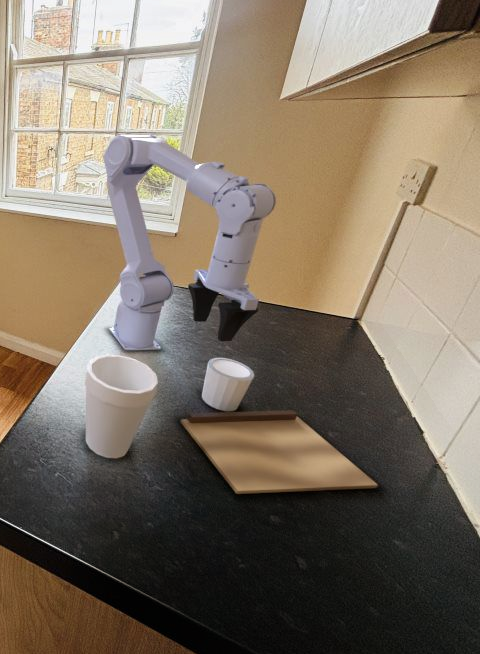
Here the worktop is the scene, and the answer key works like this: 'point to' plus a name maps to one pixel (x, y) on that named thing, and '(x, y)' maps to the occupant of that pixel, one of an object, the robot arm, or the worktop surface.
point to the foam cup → (116, 402)
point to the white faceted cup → (226, 383)
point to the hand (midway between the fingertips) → (211, 330)
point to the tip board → (272, 453)
